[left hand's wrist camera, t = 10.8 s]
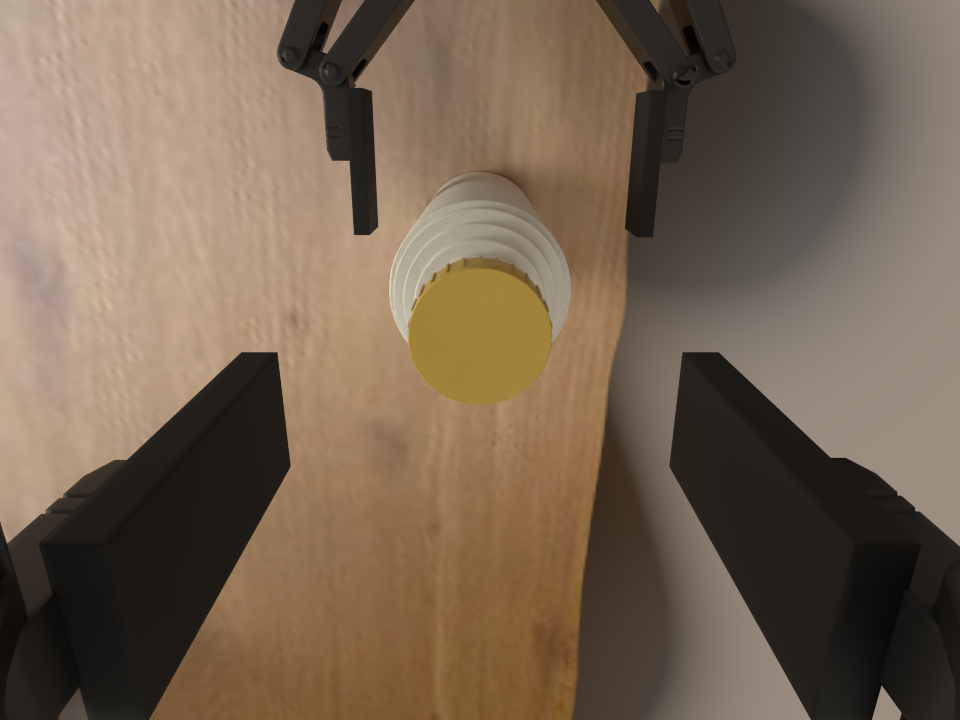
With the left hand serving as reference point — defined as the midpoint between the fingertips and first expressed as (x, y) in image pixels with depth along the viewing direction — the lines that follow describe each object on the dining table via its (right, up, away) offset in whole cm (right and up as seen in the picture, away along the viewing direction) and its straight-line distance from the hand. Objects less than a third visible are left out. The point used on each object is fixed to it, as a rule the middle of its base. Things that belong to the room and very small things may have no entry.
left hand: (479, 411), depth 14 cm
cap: (0, +2, +5) cm, 5 cm away
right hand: (+1, +8, +18) cm, 20 cm away
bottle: (0, +9, +24) cm, 26 cm away
